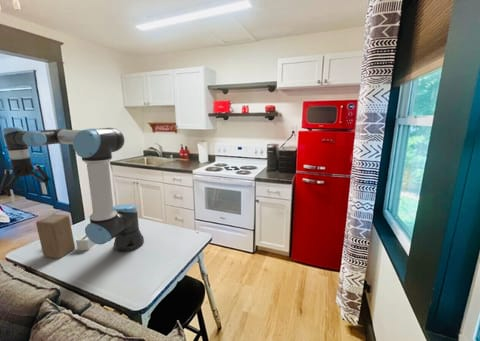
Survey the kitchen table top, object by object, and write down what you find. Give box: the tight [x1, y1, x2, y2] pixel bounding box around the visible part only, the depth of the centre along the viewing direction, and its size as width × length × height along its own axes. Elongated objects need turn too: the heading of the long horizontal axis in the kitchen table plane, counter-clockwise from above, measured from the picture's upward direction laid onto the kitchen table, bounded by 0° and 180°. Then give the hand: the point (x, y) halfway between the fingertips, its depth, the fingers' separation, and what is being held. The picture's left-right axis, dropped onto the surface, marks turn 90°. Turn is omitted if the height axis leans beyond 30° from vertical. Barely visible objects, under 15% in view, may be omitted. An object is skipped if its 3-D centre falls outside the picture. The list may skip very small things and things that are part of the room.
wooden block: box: [35, 213, 76, 260], centre depth 119 cm, size 10×10×20 cm
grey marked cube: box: [75, 234, 96, 251], centre depth 126 cm, size 6×6×6 cm
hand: (30, 197), depth 122 cm, fingers open, 13 cm apart
